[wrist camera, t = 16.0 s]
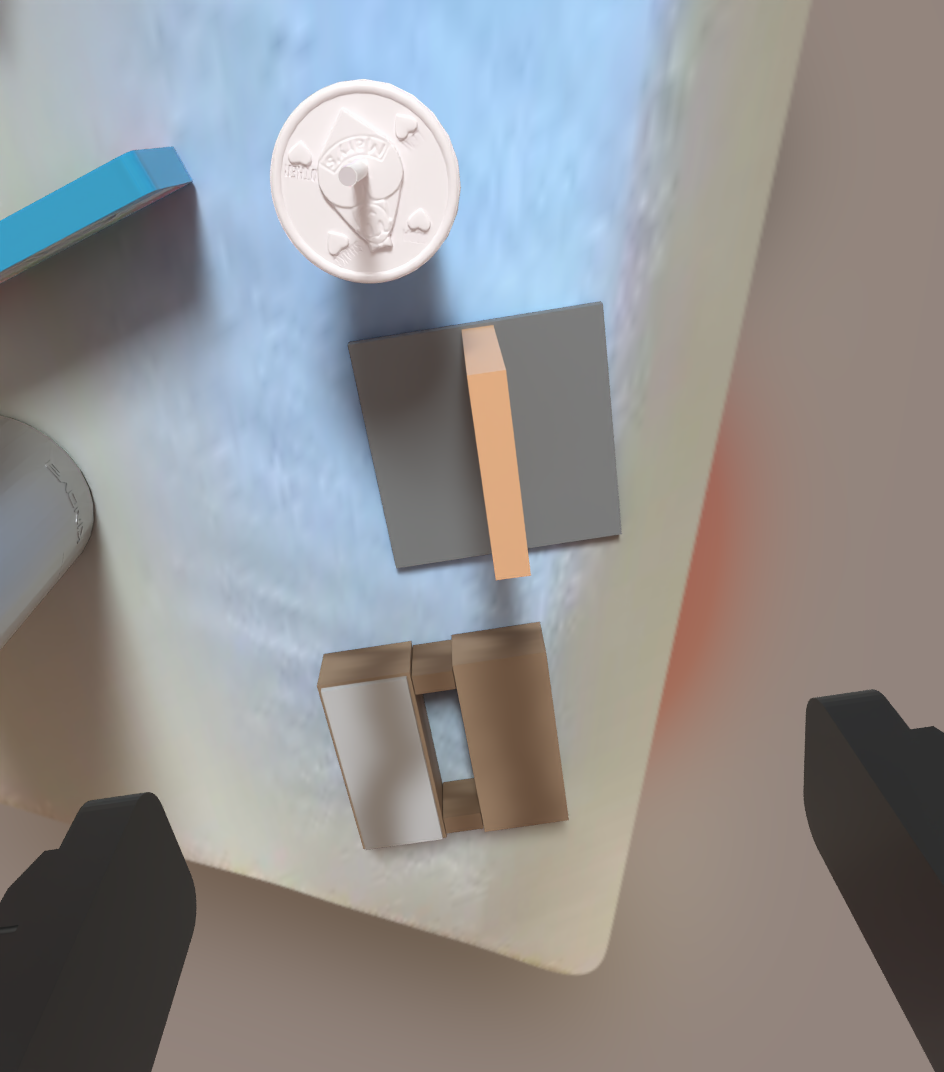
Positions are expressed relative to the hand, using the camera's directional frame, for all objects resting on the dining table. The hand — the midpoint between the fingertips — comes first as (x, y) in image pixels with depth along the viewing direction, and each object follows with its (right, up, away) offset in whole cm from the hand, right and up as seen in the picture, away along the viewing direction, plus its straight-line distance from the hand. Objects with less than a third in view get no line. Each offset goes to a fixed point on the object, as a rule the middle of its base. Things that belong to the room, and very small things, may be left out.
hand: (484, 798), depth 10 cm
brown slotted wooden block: (-2, -8, +39) cm, 40 cm away
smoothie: (-4, +19, +26) cm, 33 cm away
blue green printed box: (-18, +17, +27) cm, 37 cm away
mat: (+1, +8, +32) cm, 33 cm away
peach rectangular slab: (+1, +3, +29) cm, 29 cm away
